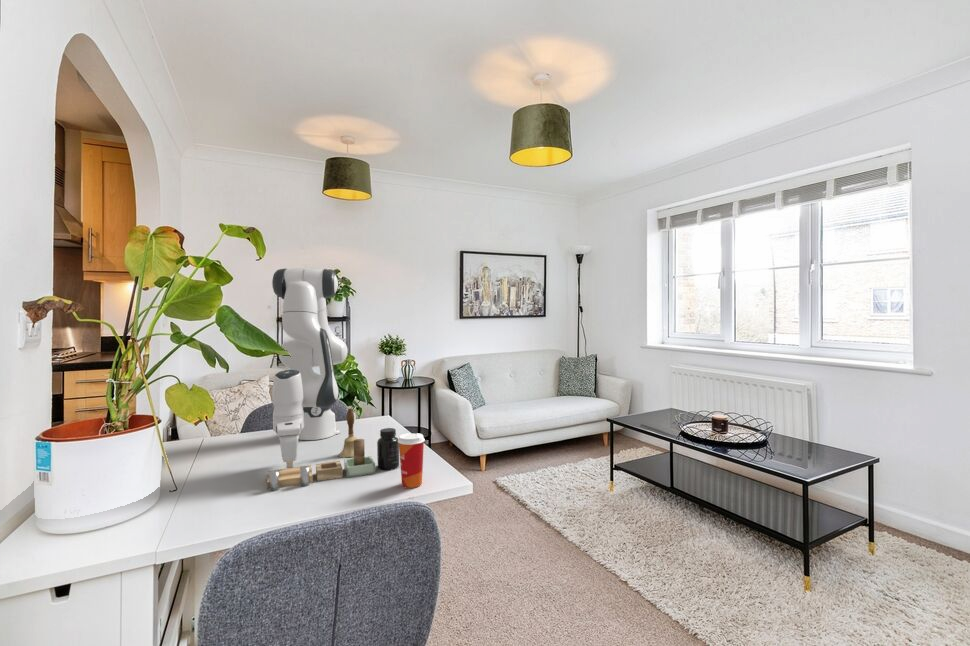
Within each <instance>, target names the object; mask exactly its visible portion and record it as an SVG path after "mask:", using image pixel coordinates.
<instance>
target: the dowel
mask: <svg viewBox="0 0 970 646" xmlns="http://www.w3.org/2000/svg"><path fill="white" fill-rule="evenodd" d="M365 453H366V452H365V439H364V438H357V439H356V440H354V457H353V458H354V466H358V465H365V457H366V456H365Z"/></svg>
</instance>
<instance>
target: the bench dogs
mask: <svg viewBox="0 0 970 646" xmlns="http://www.w3.org/2000/svg"><path fill="white" fill-rule="evenodd" d="M303 466H304V467H302V466H300V467H301V468H300V483H301V484H300V486H301V487H308V486H310V485H311V483H309V467H308V466H309V465H303ZM278 470H279V469H274V471H272V470H269V471H270V472H269V479H270V489H269V491H270V492H276V491H279V490H280V487H279V471H278Z"/></svg>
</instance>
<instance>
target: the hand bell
mask: <svg viewBox="0 0 970 646" xmlns="http://www.w3.org/2000/svg"><path fill="white" fill-rule="evenodd" d="M346 423H347V426H348V431H347V432H348V436H347V438H345V439H344V443H343V447H342V450H341V451H340V453H339V455H338V457H340V456H341V457H340V458H343V457H347V458H346V459H350V458H349V457H352V458H354V440H356V439H358V438H357V437H355V436H354V423H355V413H354V410H353V408H351V407H350V408H348V410H347V413H346Z"/></svg>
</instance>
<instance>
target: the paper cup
mask: <svg viewBox="0 0 970 646" xmlns="http://www.w3.org/2000/svg"><path fill="white" fill-rule="evenodd" d="M425 441H426V440H425V438H424V434H422V433H418V432H417V433H416V432H412V433H408V432H407V433H403V434H401V435H399V436H398V443H399V466H400V477H401V485H402V487H403V488H404V487H406V489H415V488H414V487H417V488H419V487H421V486H422V485H423V473H424V472H423V467H424V447H425V446H424V443H425ZM421 484H422V485H421ZM420 485H421V486H420ZM418 486H419V487H418Z"/></svg>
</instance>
